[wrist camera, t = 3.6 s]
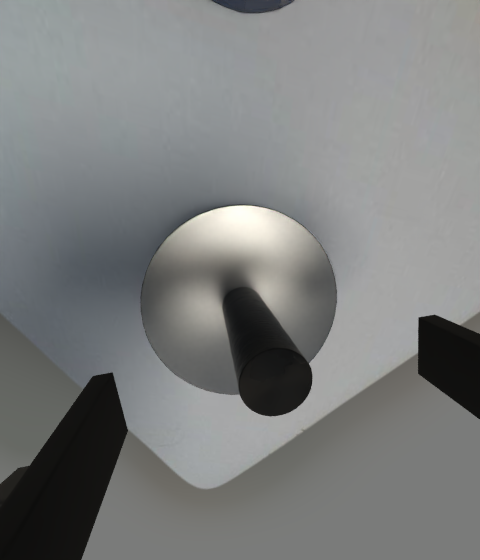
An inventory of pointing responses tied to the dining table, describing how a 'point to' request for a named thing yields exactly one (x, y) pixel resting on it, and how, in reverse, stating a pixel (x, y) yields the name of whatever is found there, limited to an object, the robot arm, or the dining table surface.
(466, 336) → the robot arm
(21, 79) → the dining table surface
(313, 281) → the lid
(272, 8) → the pot
